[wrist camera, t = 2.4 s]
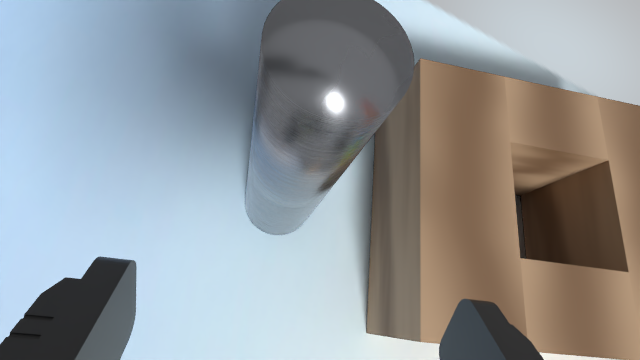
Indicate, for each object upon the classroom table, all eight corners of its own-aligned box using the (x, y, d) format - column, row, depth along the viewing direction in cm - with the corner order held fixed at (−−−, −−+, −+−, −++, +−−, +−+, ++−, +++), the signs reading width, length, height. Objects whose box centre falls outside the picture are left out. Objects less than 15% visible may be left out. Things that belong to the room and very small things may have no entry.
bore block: (366, 332, 22) (420, 342, 16) (375, 119, 27) (420, 58, 21) (602, 353, 25) (732, 369, 18) (573, 155, 30) (668, 112, 23)
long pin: (240, 230, 23) (250, 102, 9) (250, 167, 24) (272, -30, 10) (306, 239, 23) (413, 132, 10) (313, 177, 25) (414, 4, 11)
